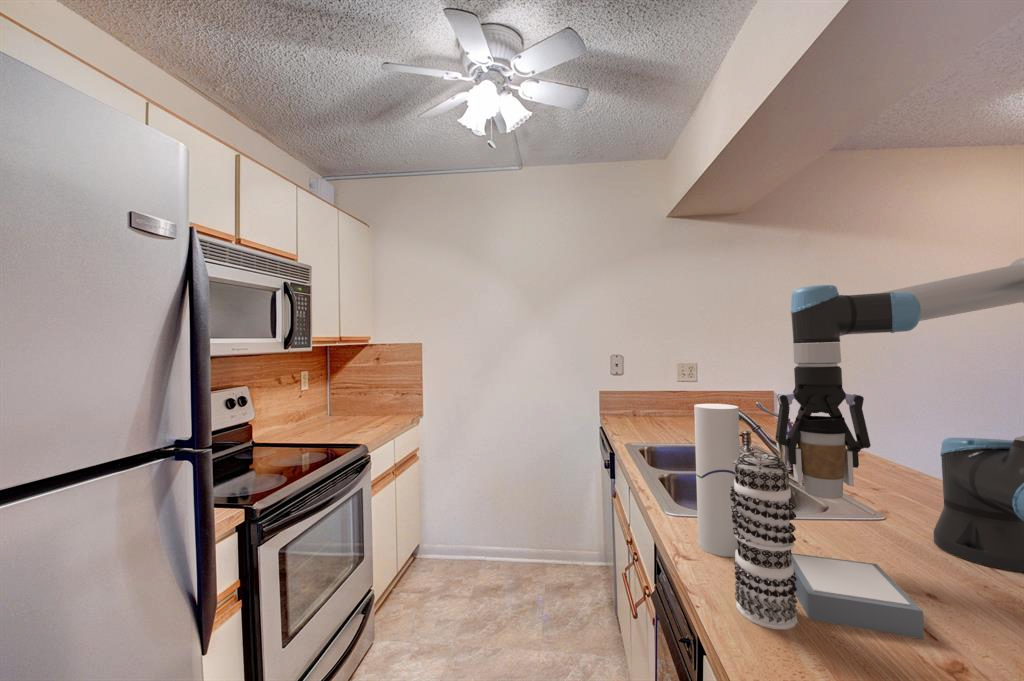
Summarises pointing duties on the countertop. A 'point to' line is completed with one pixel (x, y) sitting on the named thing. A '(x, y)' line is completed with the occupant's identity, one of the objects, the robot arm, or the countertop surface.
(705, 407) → the container
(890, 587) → the podium
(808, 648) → the countertop surface
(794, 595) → the decorative candle
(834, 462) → the coffee cup
